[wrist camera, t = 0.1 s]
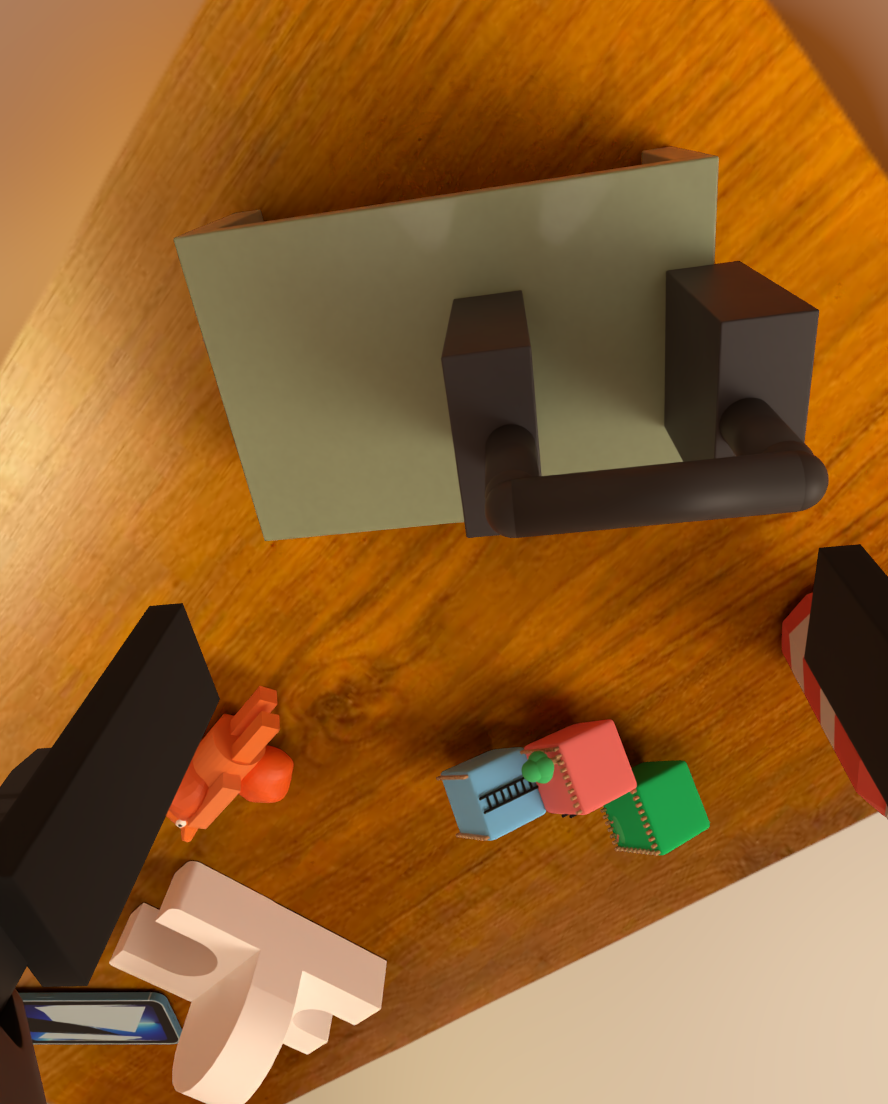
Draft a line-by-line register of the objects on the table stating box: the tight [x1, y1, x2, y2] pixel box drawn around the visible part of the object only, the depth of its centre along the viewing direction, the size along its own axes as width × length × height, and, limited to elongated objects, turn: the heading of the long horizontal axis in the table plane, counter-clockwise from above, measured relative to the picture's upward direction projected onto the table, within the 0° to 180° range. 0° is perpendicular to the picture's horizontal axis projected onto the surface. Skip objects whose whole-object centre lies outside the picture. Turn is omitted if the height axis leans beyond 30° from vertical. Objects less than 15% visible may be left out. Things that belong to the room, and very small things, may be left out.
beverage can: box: [782, 592, 888, 819], centre depth 35 cm, size 6×6×12 cm
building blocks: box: [436, 719, 710, 856], centre depth 43 cm, size 8×8×12 cm
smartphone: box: [18, 992, 182, 1044], centre depth 65 cm, size 7×1×15 cm
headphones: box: [441, 261, 828, 538], centre depth 22 cm, size 6×10×11 cm, turn 98°
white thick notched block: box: [109, 861, 387, 1104], centre depth 54 cm, size 18×10×11 cm, turn 50°
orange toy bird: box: [166, 686, 294, 842], centre depth 45 cm, size 5×8×12 cm
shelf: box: [174, 146, 719, 541], centre depth 30 cm, size 12×18×7 cm, turn 98°
